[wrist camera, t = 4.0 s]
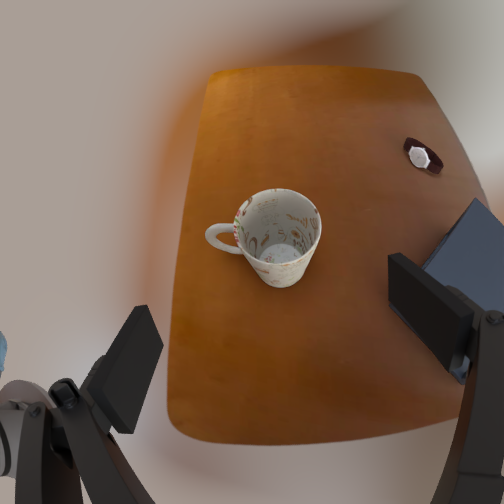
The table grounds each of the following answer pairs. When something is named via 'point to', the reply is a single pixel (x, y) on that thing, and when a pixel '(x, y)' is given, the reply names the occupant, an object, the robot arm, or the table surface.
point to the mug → (273, 235)
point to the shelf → (471, 263)
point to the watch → (423, 156)
